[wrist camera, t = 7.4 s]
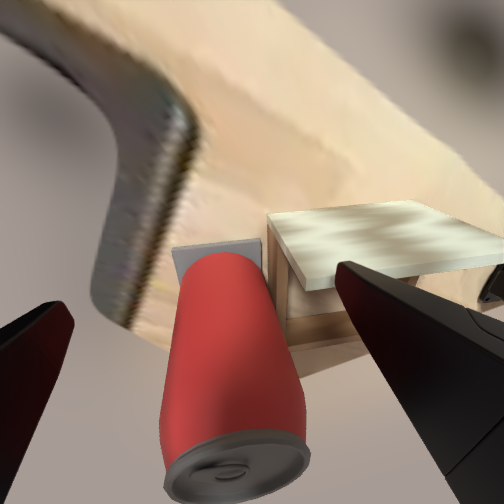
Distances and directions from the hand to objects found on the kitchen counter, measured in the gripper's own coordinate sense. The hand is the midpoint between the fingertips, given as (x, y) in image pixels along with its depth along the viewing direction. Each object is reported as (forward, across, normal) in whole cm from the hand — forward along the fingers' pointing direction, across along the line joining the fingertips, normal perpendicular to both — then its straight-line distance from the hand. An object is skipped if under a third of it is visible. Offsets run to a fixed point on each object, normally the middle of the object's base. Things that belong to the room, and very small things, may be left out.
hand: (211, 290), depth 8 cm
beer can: (+9, 0, +7) cm, 12 cm away
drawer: (+10, -10, +8) cm, 16 cm away
